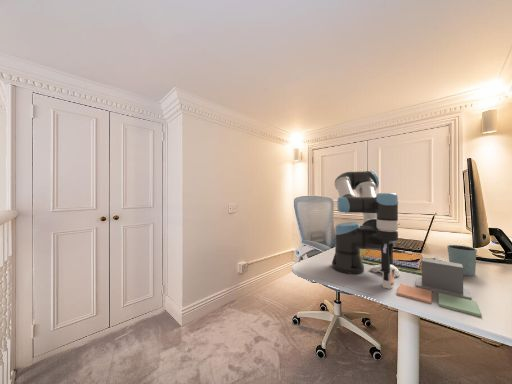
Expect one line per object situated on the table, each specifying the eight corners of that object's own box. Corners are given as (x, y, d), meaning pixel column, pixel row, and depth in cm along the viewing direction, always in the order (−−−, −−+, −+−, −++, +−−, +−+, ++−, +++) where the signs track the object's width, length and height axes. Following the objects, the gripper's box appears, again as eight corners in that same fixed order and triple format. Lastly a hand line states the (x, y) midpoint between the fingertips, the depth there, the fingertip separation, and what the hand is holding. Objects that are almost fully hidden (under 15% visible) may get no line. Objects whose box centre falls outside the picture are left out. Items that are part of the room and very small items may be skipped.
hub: (415, 287, 84) (415, 260, 84) (416, 280, 90) (416, 255, 90) (471, 300, 74) (471, 270, 74) (468, 292, 80) (468, 264, 80)
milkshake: (380, 282, 89) (380, 259, 89) (395, 285, 86) (395, 262, 86) (379, 286, 86) (378, 262, 86) (394, 290, 82) (394, 265, 82)
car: (401, 274, 98) (401, 265, 98) (398, 279, 93) (398, 268, 93) (373, 268, 106) (373, 259, 106) (369, 272, 101) (369, 262, 101)
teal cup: (475, 278, 92) (475, 251, 92) (445, 271, 100) (445, 247, 100) (477, 272, 99) (477, 247, 99) (449, 266, 107) (449, 243, 107)
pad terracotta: (397, 294, 79) (397, 292, 79) (400, 285, 86) (400, 283, 86) (431, 303, 72) (431, 301, 72) (431, 292, 80) (431, 290, 80)
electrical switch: (446, 283, 87) (443, 261, 88) (430, 281, 91) (428, 260, 91) (444, 276, 95) (441, 256, 95) (430, 274, 98) (427, 255, 99)
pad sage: (439, 305, 71) (439, 303, 71) (438, 294, 78) (438, 292, 78) (481, 317, 64) (481, 314, 64) (476, 303, 72) (476, 301, 72)
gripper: (394, 234, 77) (395, 296, 77) (400, 227, 90) (400, 281, 90) (372, 232, 82) (372, 290, 82) (380, 226, 95) (381, 276, 95)
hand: (387, 285), depth 86 cm, fingers closed on milkshake, 4 cm apart
